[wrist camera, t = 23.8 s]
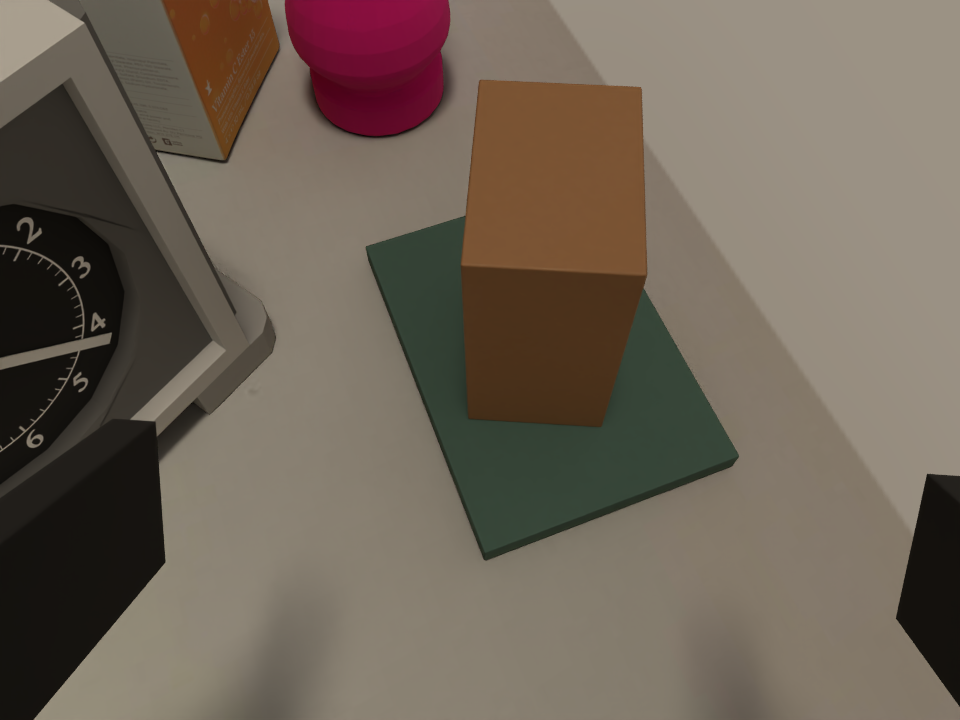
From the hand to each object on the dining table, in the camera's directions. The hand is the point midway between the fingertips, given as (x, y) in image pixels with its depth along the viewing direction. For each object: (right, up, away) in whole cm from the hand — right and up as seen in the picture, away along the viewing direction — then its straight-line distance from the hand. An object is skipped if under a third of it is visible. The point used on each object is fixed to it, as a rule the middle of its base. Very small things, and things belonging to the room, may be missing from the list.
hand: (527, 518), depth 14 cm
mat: (+1, +3, +19) cm, 19 cm away
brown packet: (+1, +3, +18) cm, 19 cm away
